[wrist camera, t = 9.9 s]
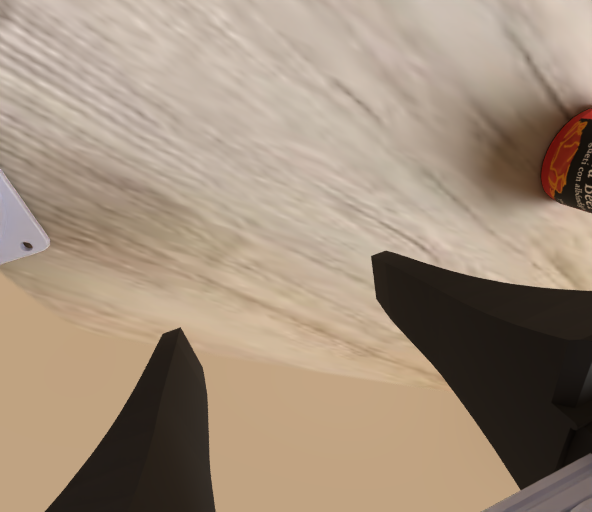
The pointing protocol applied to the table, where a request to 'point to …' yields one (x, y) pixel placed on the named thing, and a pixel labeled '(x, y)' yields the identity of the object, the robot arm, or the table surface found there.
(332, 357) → the table surface
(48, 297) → the table surface
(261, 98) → the table surface
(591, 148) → the canned food
